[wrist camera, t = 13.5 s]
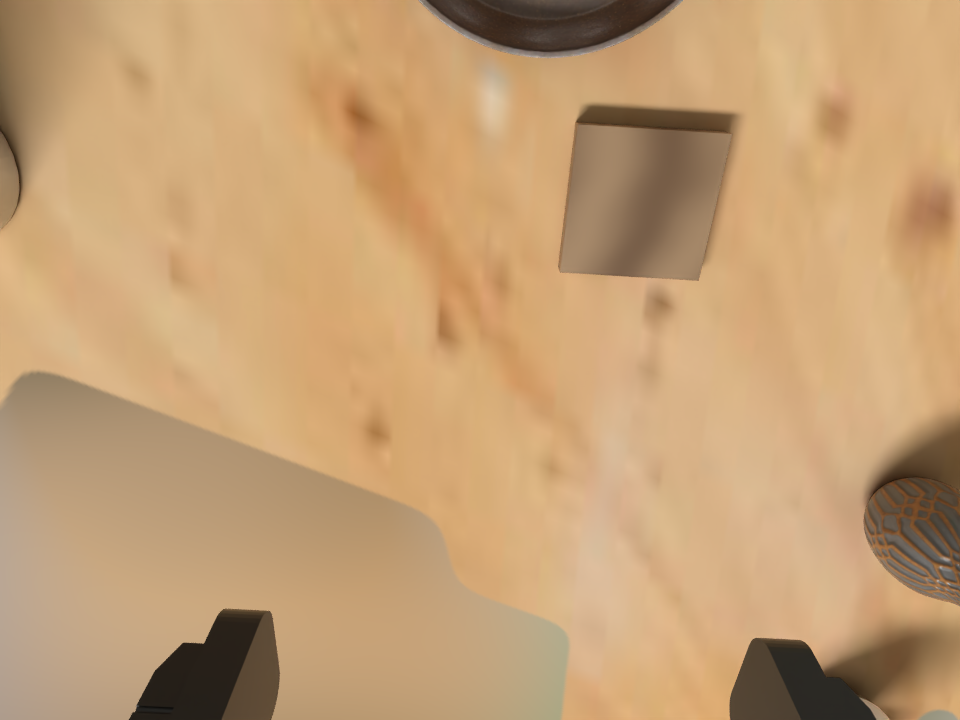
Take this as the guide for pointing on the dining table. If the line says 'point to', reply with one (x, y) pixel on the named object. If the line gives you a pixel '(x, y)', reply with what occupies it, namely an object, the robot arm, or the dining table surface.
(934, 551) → the dark brown oval lump
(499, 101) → the dining table surface
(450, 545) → the dining table surface
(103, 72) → the dining table surface
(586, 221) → the stand
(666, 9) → the brown shallow round tray
